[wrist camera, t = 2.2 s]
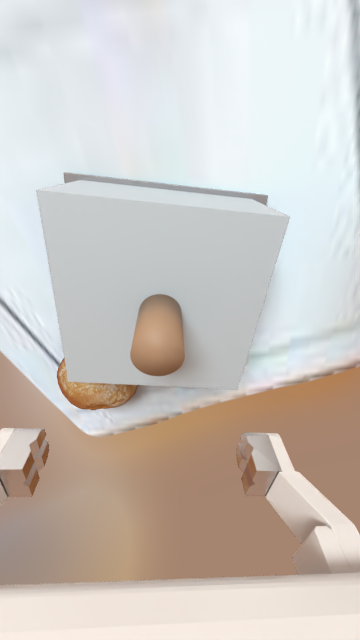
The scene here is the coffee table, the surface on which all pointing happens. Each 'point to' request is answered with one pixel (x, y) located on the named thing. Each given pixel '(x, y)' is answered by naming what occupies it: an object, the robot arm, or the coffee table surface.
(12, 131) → the coffee table surface
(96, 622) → the robot arm
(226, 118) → the coffee table surface
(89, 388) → the bread roll
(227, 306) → the cover
